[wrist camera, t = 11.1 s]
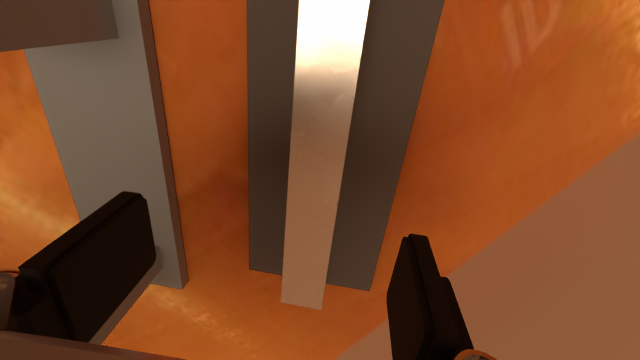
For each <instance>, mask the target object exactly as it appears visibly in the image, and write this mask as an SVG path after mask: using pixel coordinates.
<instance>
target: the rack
mask: <svg viewBox="0 0 640 360" xmlns="http://www.w3.org/2000/svg"><path fill="white" fill-rule="evenodd" d="M21 49H24V52H25V55H26V58H27V61H28V64H29V67H30V70H31V73H32V76H33V79H34V82H35V85H36V88H37V91H38V94H39V97H40V100H41V103H42V106H43V109H44V112H45V115H46V118H47V121H48V124H49V127H50V130H51V133H52V136H53V139H54V142H55V145H56V148H57V151H58V154H59V157H60V160H61V163H62V166H63V169H64V172H65V175H66V178H67V181H68V184H69V187H70V190H71V193H72V196H73V199H74V202H75V205H76V208H77V211H78V214H79V217H80V220H81V221H82V220H83V219H85V218H86V217H88V216H89V215H90V214H92V213H93V212H94V211H96V210H97V209H99V208H100V207H101V206H103V205H104V204H105V203H107V202H108V201H110V200H111V199H112V198H114V197H115V196H116V195H118V194H119V193H121V192H123V191H128V192H135V193H140V194H142V196H143V198H145V199H146V200H147V204H148V209H149V215H150V221H151V226H152V232H153V238H154V244H155V249H156V261H155V263H154V265H153V266H152V267H151V268H150V269H149V271H148V272H147V273H146V274H145V275H144V277H143V278H142V279H141V280H140V281H139V283H138V284H137V285H136V286H135V288H134V289H133V290H132V291H131V292H130V294H129V295H128V296H127V297H126V298H125V300H124V301H123V302H122V303H121V304H120V306H119V307H118V308H117V309H116V310H115V312H114V313H113V314H112V315H111V316H110V318H109V319H108V320H107V321H106V322H105V324H104V325H103V326H102V327H101V328H100V330H99V331H98V332H97V333H96V334H95V336H94V337H93V338H92V339H91V340H90V341H89V342H88V343H91V344H97V345H101V344H102V343H103V341H104V340H105V339H106V338H107V336H108V335H109V334H110V333H111V331H112V330H113V329H114V328H115V326H116V325H117V324H118V323H119V321H120V320H121V319H122V318H123V317H124V315H125V314H126V313H127V312H128V310H129V309H130V308H131V307H132V305H133V304H134V303H135V302H136V300H137V299H138V298H139V297H140V295H141V294H142V293H143V292H144V290H145V289H146V288H147V287H148V285H149V284H150V283H151V284H156V285H161V286H167V287H172V288H177V289H182V290H183V288H184V287H185V285H186V284H187V282H188V275H187V268H186V261H185V254H184V247H183V240H182V233H181V226H180V219H179V212H178V205H177V198H176V191H175V184H174V177H173V170H172V163H171V156H170V149H169V142H168V135H167V128H166V121H165V114H164V107H163V100H162V93H161V86H160V79H159V72H158V65H157V58H156V51H155V44H154V37H153V30H152V23H151V16H150V9H149V2H148V0H0V52H3V51H12V50H21Z"/></svg>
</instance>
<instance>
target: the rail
mask: <svg viewBox="0 0 640 360" xmlns="http://www.w3.org/2000/svg"><path fill="white" fill-rule="evenodd" d="M369 3H370V0H299V14H298V30H297V46H296V62H295V79H294V95H293V111H292V127H291V143H290V160H289V176H288V192H287V208H286V225H285V241H284V257H283V273H282V289H281V303H287V304H292V305H297V306H302V307H308V308H313V309H318V310H321V308H322V302H323V295H324V289H325V283H326V277H327V271H328V264H329V258H330V251H331V245H332V239H333V232H334V226H335V220H336V213H337V207H338V200H339V194H340V188H341V181H342V175H343V169H344V162H345V156H346V149H347V143H348V137H349V130H350V124H351V118H352V111H353V105H354V99H355V92H356V86H357V79H358V73H359V67H360V60H361V54H362V48H363V41H364V35H365V28H366V22H367V16H368V9H369Z"/></svg>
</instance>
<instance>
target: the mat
mask: <svg viewBox="0 0 640 360" xmlns="http://www.w3.org/2000/svg"><path fill="white" fill-rule="evenodd" d="M443 3H444V0H370V3H369V9H368V16H367V22H366V28H365V35H364V41H363V48H362V54H361V60H360V67H359V73H358V79H357V86H356V92H355V99H354V105H353V111H352V118H351V124H350V130H349V137H348V143H347V149H346V156H345V162H344V169H343V175H342V181H341V188H340V194H339V200H338V207H337V213H336V220H335V226H334V232H333V239H332V245H331V251H330V258H329V264H328V271H327V277H326V283H327V284H332V285H338V286H343V287H349V288H354V289H360V290H365V291H370V288H371V284H372V280H373V276H374V272H375V268H376V264H377V260H378V257H379V253H380V249H381V245H382V241H383V237H384V233H385V229H386V225H387V221H388V218H389V214H390V210H391V206H392V202H393V198H394V194H395V190H396V186H397V183H398V179H399V175H400V171H401V167H402V163H403V159H404V155H405V151H406V147H407V144H408V140H409V136H410V132H411V128H412V124H413V120H414V116H415V112H416V109H417V105H418V101H419V97H420V93H421V89H422V85H423V81H424V77H425V73H426V70H427V66H428V62H429V58H430V54H431V50H432V46H433V42H434V38H435V34H436V31H437V27H438V23H439V19H440V15H441V11H442V7H443ZM298 14H299V0H247V70H248V173H249V269H250V270H255V271H261V272H266V273H272V274H277V275H282V273H283V257H284V241H285V225H286V208H287V192H288V176H289V160H290V143H291V127H292V111H293V95H294V79H295V62H296V46H297V30H298Z"/></svg>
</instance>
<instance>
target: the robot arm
mask: <svg viewBox="0 0 640 360" xmlns="http://www.w3.org/2000/svg"><path fill="white" fill-rule="evenodd" d="M155 261H156V249H155V244H154V238H153V232H152V226H151V221H150V215H149V209H148V204H147V200H146V199H145V198H143V196H142V194H140V193H135V192H128V191H123V192H121V193H119V194H118V195H116V196H115V197H114V198H112V199H111V200H110V201H108V202H107V203H105V204H104V205H103V206H101V207H100V208H99V209H97V210H96V211H94V212H93V213H92V214H90V215H89V216H88V217H86V218H85V219H83V220H82V221H81V222H79V223H78V224H77V225H75V226H74V227H73V228H71V229H70V230H68V231H67V232H66V233H64V234H63V235H62V236H60V237H59V238H57V239H56V240H55V241H53V242H52V243H51V244H49V245H48V246H46V247H45V248H44V249H42V250H41V251H40V252H38V253H37V254H35V255H34V256H33V257H31V258H30V259H29V260H27V261H26V262H25V263H23V264H22V265H20V266H19V267H18V268H19V271H20V274H17V273H7V272H0V360H186V359H180V358H174V357H168V356H162V355H156V354H150V353H145V352H139V351H133V350H127V349H121V348H115V347H109V346H103V345H97V344H91V343H88V342H89V341H90V340H91V339H92V338H93V337H94V336H95V334H96V333H97V332H98V331H99V330H100V328H101V327H102V326H103V325H104V324H105V322H106V321H107V320H108V319H109V318H110V316H111V315H112V314H113V313H114V312H115V310H116V309H117V308H118V307H119V306H120V304H121V303H122V302H123V301H124V300H125V298H126V297H127V296H128V295H129V294H130V292H131V291H132V290H133V289H134V288H135V286H136V285H137V284H138V283H139V281H140V280H141V279H142V278H143V277H144V275H145V274H146V273H147V272H148V271H149V269H150V268H151V267H152V266H153V265H154V263H155ZM387 310H388V319H389V328H390V338H391V348H392V357H393V360H496V359H495V358H494V357H492V356H490V355H489V354H487V353H484V352H482V351H479V350H474V347H473V345H472V342H471V339H470V336H469V334H468V331H467V328H466V325H465V322H464V319H463V317H462V314H461V311H460V308H459V305H458V302H457V300H456V297H455V294H454V291H453V288H452V286H451V283H450V281H449V279H448V278H447V277H441V276H440V274H439V271H438V268H437V265H436V262H435V259H434V256H433V253H432V250H431V247H430V243H429V240H428V238H427V236H423V235H417V234H409V236H408V237H403V239H402V242H401V246H400V249H399V253H398V256H397V260H396V263H395V267H394V270H393V274H392V277H391V281H390V284H389V288H388V291H387Z"/></svg>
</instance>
